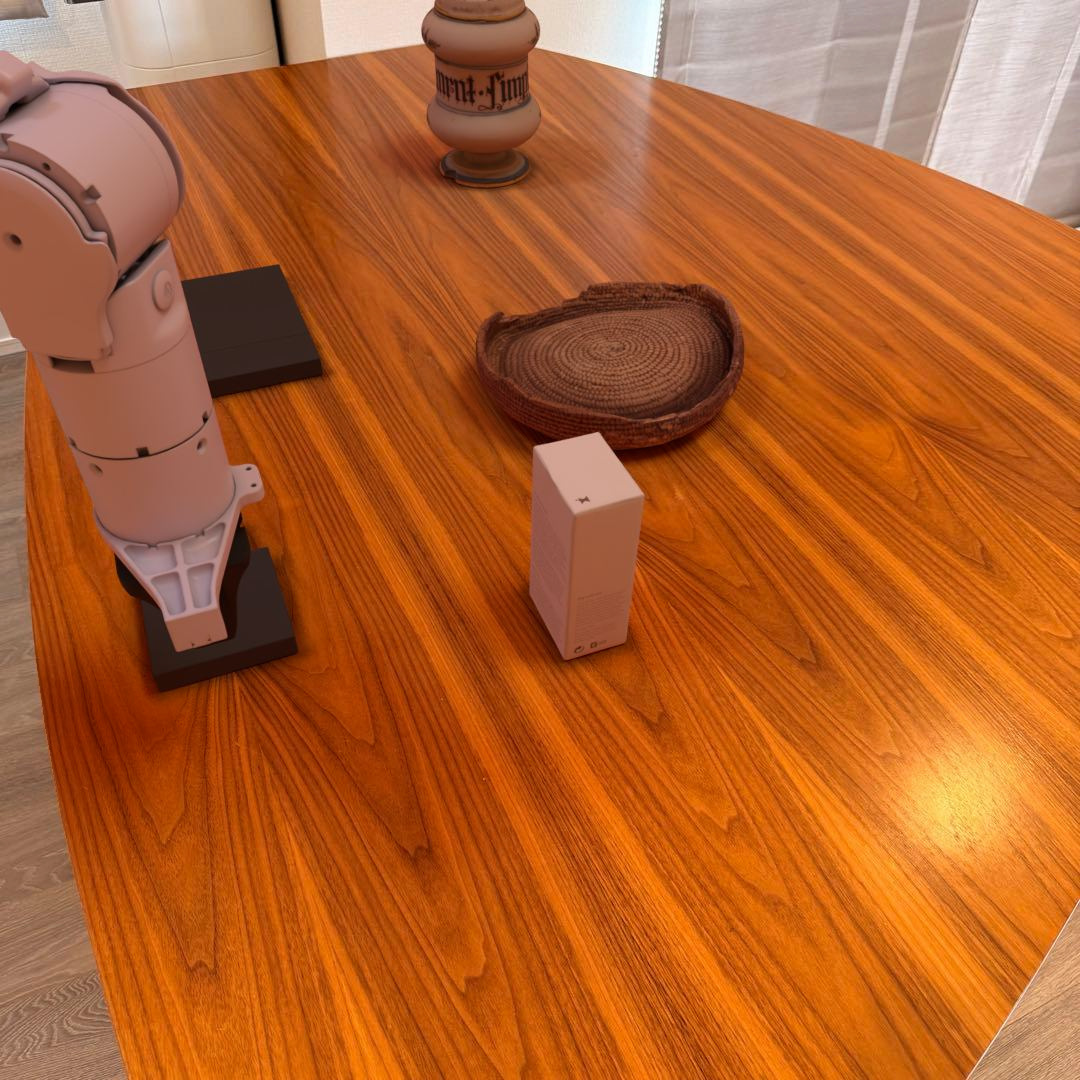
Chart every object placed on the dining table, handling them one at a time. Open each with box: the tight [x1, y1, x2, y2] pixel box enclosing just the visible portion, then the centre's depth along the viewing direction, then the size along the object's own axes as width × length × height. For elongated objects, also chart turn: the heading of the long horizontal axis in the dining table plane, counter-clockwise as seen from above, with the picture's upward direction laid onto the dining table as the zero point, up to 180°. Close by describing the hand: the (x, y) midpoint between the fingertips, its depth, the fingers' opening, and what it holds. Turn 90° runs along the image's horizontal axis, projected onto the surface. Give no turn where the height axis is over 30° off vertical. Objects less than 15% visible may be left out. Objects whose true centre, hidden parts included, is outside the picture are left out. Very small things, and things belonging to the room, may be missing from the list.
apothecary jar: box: [420, 0, 542, 189], centre depth 100 cm, size 12×12×18 cm
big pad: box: [180, 263, 324, 399], centre depth 80 cm, size 16×16×2 cm
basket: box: [475, 280, 745, 451], centre depth 77 cm, size 22×20×5 cm
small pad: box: [139, 546, 299, 693], centre depth 60 cm, size 8×12×2 cm
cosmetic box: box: [529, 432, 645, 661], centre depth 56 cm, size 6×4×12 cm
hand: (213, 634), depth 48 cm, fingers closed
